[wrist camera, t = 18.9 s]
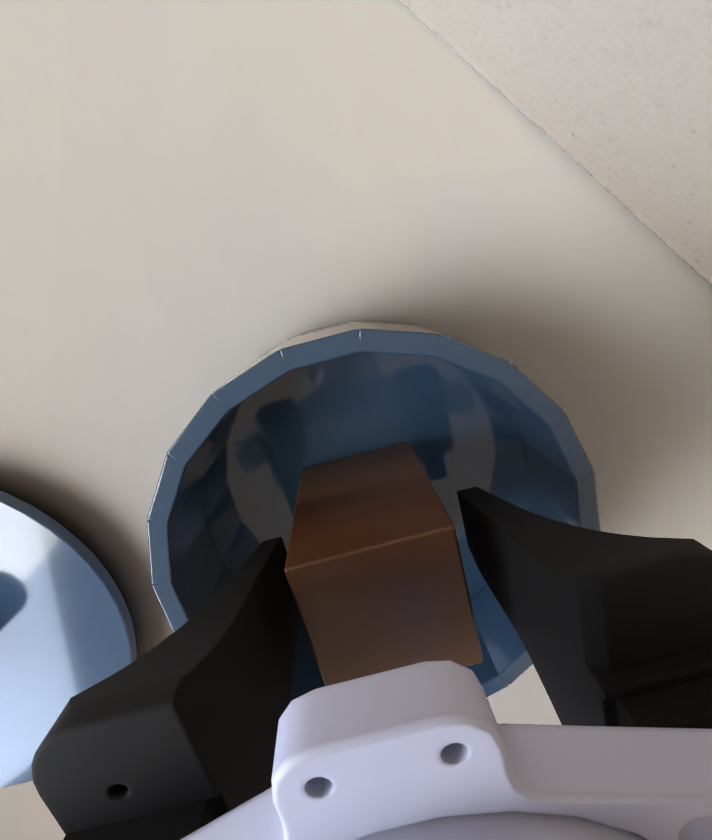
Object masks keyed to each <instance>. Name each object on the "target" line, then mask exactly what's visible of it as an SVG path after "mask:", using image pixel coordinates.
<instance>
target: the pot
mask: <svg viewBox="0 0 712 840" xmlns="http://www.w3.org/2000/svg"><path fill="white" fill-rule="evenodd" d="M403 442H409V443H410V445H411V447H412V449H413V450H414V452H415V454H416V456H417V458H418V460H419V462H420V463H421V465H422V467H423V469H424V471H425V473H426V474H427V476H428V478H429V480H430V482H431V484H432V486H433V487H434V489H435V491H436V493H437V495H438V497H439V498H440V500H441V502H442V504H443V506H444V508H445V510H446V511H447V513H448V515H449V517H450V519H451V521H452V523H453V524H454V526H455V530H456V534H457V539H458V544H459V548H460V553H461V558H462V562H463V567H464V572H465V576H466V581H467V586H468V590H469V595H470V600H471V604H472V609H473V614H474V618H475V623H476V628H477V632H478V637H479V642H480V646H481V651H482V656H483V662H482V663H478V664H474V665H470V666H466V668H468V669H470V670H472V671H473V672H474V674H475V676H476V677H477V679H478V680H479V682H480V684H481V685H482V687H483V689H484V691H485V694H486V696H487V697H488V696H490V695H492V694H494V693H496V692H498V691H500V690H501V689H503V688H505V687H507V686H508V684H511V683H512V682H513V681H515V680H516V679H517V678H518V677H519V676H520V675H521V674H522V673H523V672H524V671H525V670H527V669H528V668H529V667H530V666H531V665H532V664H533V662H532V660H531V658H530V656H529V654H528V652H527V650H526V648H525V646H524V644H523V642H522V640H521V639H520V637H519V635H518V633H517V631H516V630H515V628H514V626H513V625H512V623H511V622H510V620H509V618H508V617H507V615H506V614H505V612H504V610H503V609H502V607H501V606H500V604H499V602H498V601H497V599H496V598H495V596H494V594H493V593H492V591H491V590H490V588H489V586H488V585H487V583H486V581H485V580H484V578H483V577H482V575H481V573H480V571H479V569H478V567H477V565H476V563H475V561H474V558H473V556H472V554H471V551H470V549H469V547H468V543H467V538H466V533H465V529H464V524H463V519H462V514H461V509H460V504H459V500H458V495H457V491H460V490H464V489H468V488H471V487H475V486H476V487H478V488H480V489H482V490H484V491H486V492H488V493H490V494H493V495H495V496H497V497H499V498H501V499H503V500H505V501H507V502H509V503H511V504H514V505H516V506H518V507H520V508H523V509H525V510H528V511H530V512H533V513H535V514H538V515H541V516H543V517H546V518H549V519H552V520H556V521H559V522H563V523H566V524H570V525H573V526H578V527H582V528H586V529H592V530H597V531H600V522H599V512H598V503H597V493H596V483H595V474H594V471H593V467H592V465H591V463H590V461H589V459H588V457H587V455H586V453H585V451H584V449H583V447H582V445H581V443H580V441H579V439H578V437H577V435H576V433H575V431H574V429H573V427H572V425H571V423H570V421H569V419H568V417H567V415H566V413H565V412H564V411H563V409H562V408H561V407H560V406H559V405H558V404H556V403H555V402H554V401H553V400H552V399H551V398H550V397H549V396H548V395H547V394H545V393H544V392H543V391H542V390H541V389H540V388H539V387H538V386H537V385H536V384H535V383H533V382H532V381H531V380H530V379H529V378H528V377H527V376H526V375H525V374H524V373H522V372H521V371H520V370H519V369H518V368H517V367H516V366H515V365H514V364H512V363H510V362H509V361H507V360H504V359H502V358H500V357H497V356H495V355H492V354H490V353H488V352H485V351H483V350H480V349H478V348H475V347H473V346H471V345H468V344H466V343H463V342H461V341H458V340H456V339H454V338H451V337H449V336H446V335H444V334H441V333H438V332H435V331H432V330H429V329H425V328H422V327H419V326H415V325H406V324H391V323H378V322H358V321H354V322H353V323H352V322H347V323H344V324H340V325H336V326H332V327H327V328H322V329H319V330H316V331H313V332H310V333H306V334H302V335H298V336H295V337H292V338H289V339H288V340H286V341H285V342H283V343H282V344H280V345H279V346H277V347H276V348H274V349H273V350H271V351H270V352H268V353H267V354H265V355H264V356H262V357H261V358H259V359H258V360H256V361H255V362H253V363H252V364H250V365H248V366H247V367H245V368H244V369H242V370H241V371H240V372H238V373H237V374H236V375H235V376H233V377H232V378H231V379H229V380H228V381H227V382H226V383H224V384H223V385H222V386H221V387H219V388H218V389H217V390H216V391H214V392H213V393H212V394H211V395H210V396H209V398H208V399H207V400H206V402H205V403H204V404H203V406H202V407H201V408H200V410H199V411H198V412H197V413H196V415H195V416H194V417H193V419H192V420H191V421H190V423H189V424H188V425H187V427H186V428H185V429H184V431H183V432H182V433H181V435H180V436H179V437H178V439H177V440H176V441H175V443H174V444H173V445H172V446H171V448H170V449H169V450H168V452H167V455H166V457H165V460H164V464H163V467H162V470H161V474H160V477H159V480H158V484H157V487H156V490H155V494H154V497H153V500H152V504H151V507H150V510H149V514H148V521H147V528H148V541H149V554H150V567H151V579H152V587H153V589H154V591H155V593H156V595H157V597H158V599H159V602H160V604H161V606H162V608H163V610H164V612H165V614H166V617H167V619H168V621H169V623H170V625H171V627H172V630H173V632H175V631H176V630H178V629H179V628H180V627H181V626H183V625H184V624H185V623H186V622H187V621H188V620H190V619H191V618H192V617H193V616H194V615H195V614H196V613H197V612H199V611H200V610H201V609H202V608H203V607H204V606H205V605H206V604H207V603H208V602H209V601H210V600H211V599H212V598H213V597H214V596H215V595H216V594H217V593H218V592H219V590H220V589H221V588H222V587H223V586H224V585H225V584H226V583H227V582H228V581H229V580H230V579H231V578H232V576H233V575H234V574H235V573H236V572H237V571H238V569H239V568H240V567H241V566H242V565H243V564H244V562H245V561H246V560H247V559H248V558H249V557H250V555H251V554H252V553H253V552H254V551H255V549H256V548H257V547H258V546H259V545H260V544H261V543H262V542H263V541H266V540H270V539H274V538H278V537H282V539H283V542H284V545H285V548H286V551H287V552H288V546H289V540H290V534H291V529H292V523H293V517H294V511H295V506H296V500H297V494H298V488H299V482H300V477H301V471H302V469H304V468H308V467H311V466H315V465H319V464H323V463H327V462H331V461H334V460H338V459H342V458H346V457H350V456H354V455H357V454H361V453H365V452H369V451H373V450H377V449H380V448H384V447H388V446H392V445H396V444H400V443H403ZM321 687H325V684H324V681H323V678H322V676H321V673H320V670H319V667H318V664H317V662H316V659H315V656H314V653H313V650H312V647H311V645H310V642H309V639H308V636H307V633H306V631H305V628H304V625H303V622H302V619H301V617H300V623H299V632H298V640H297V647H296V654H295V662H294V669H293V677H292V684H291V694H290V702H291V701H292V700H294V699H296V698H298V697H300V696H302V695H304V694H306V693H308V692H310V691H312V690H314V689H317V688H321Z"/></svg>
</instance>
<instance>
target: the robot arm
mask: <svg viewBox="0 0 712 840" xmlns="http://www.w3.org/2000/svg"><path fill="white" fill-rule="evenodd" d="M457 495H458V500H459V504H460V509H461V514H462V519H463V524H464V529H465V533H466V538H467V543H468V547H469V549H470V551H471V554H472V556H473V558H474V561H475V563H476V565H477V567H478V569H479V571H480V573H481V575H482V577H483V578H484V580H485V581H486V583H487V585H488V586H489V588H490V590H491V591H492V593H493V594H494V596H495V598H496V599H497V601H498V602H499V604H500V606H501V607H502V609H503V610H504V612H505V614H506V615H507V617H508V618H509V620H510V622H511V623H512V625H513V626H514V628H515V630H516V631H517V633H518V635H519V637H520V639H521V640H522V642H523V644H524V646H525V648H526V650H527V652H528V654H529V656H530V658H531V660H532V662H533V664H534V666H535V668H536V671H537V673H538V675H539V677H540V679H541V681H542V683H543V685H544V687H545V689H546V692H547V694H548V696H549V698H550V700H551V702H552V704H553V706H554V708H555V711H556V713H557V715H558V717H559V719H560V721H561V724H562V725H533V724H497V722H496V719H495V717H494V714H493V712H492V709H491V707H490V704H489V702H488V699H487V696H486V694H485V691H484V689H483V687H482V685H481V684H480V682H479V680H478V679H477V677H476V676H475V674H474V672H473V671H472V670H470V669H468V668H466V667H463V666H461V665H459V664H457V663H455V662H453V661H424V662H420V663H416V664H412V665H408V666H404V667H400V668H396V669H392V670H388V671H384V672H380V673H376V674H372V675H368V676H364V677H360V678H356V679H352V680H349V681H345V682H341V683H337V684H333V685H329V686H325V687H321V688H317V689H314V690H312V691H310V692H308V693H306V694H304V695H302V696H300V697H298V698H296V699H294V700H292V701H291V702H290V694H291V684H292V677H293V669H294V662H295V654H296V647H297V640H298V632H299V623H300V614H299V611H298V608H297V605H296V603H295V600H294V597H293V594H292V591H291V588H290V586H289V583H288V580H287V577H286V574H285V572H284V569H285V563H286V557H287V551H286V548H285V545H284V542H283V539H282V537H278V538H274V539H270V540H266V541H263V542H262V543H261V544H260V545H259V546H258V547H257V548H256V549H255V551H254V552H253V553H252V554H251V555H250V557H249V558H248V559H247V560H246V561H245V562H244V564H243V565H242V566H241V567H240V568H239V569H238V571H237V572H236V573H235V574H234V575H233V576H232V578H231V579H230V580H229V581H228V582H227V583H226V584H225V585H224V586H223V587H222V588H221V589H220V590H219V592H218V593H217V594H216V595H215V596H214V597H213V598H212V599H211V600H210V601H209V602H208V603H207V604H206V605H205V606H204V607H203V608H202V609H201V610H200V611H199V612H197V613H196V614H195V615H194V616H193V617H192V618H191V619H190V620H188V621H187V622H186V623H185V624H184V625H183V626H181V627H180V628H179V629H178V630H176V631H175V632H174V633H172V634H171V635H170V636H168V637H167V638H166V639H165V640H163V641H162V642H161V643H159V644H158V645H157V646H155V647H154V648H153V649H151V650H150V651H148V652H147V653H145V654H144V655H143V656H141V657H140V658H138V659H137V660H135V661H134V662H132V663H130V664H129V665H127V666H126V667H124V668H123V669H121V670H119V671H118V672H116V673H114V674H113V675H111V676H109V677H108V678H106V679H104V680H102V681H100V682H99V683H97V684H95V685H93V686H91V687H90V688H88V689H86V690H84V691H83V692H81V693H79V694H77V695H75V696H73V697H71V698H70V700H69V701H68V703H67V704H66V706H65V707H64V709H63V711H62V712H61V714H60V715H59V717H58V718H57V720H56V721H55V723H54V724H53V726H52V727H51V729H50V731H49V732H48V734H47V735H46V737H45V738H44V740H43V741H42V743H41V744H40V746H39V747H38V749H37V750H36V752H35V755H34V758H33V761H32V764H31V769H32V779H33V782H34V784H35V787H36V789H37V791H38V793H39V795H40V796H41V798H42V799H43V801H44V802H45V804H46V806H47V807H48V809H49V810H50V812H51V813H52V815H53V816H54V818H55V819H56V821H57V822H58V824H59V825H60V827H61V828H62V830H63V831H64V833H65V834H66V836H65V838H64V840H712V551H711V550H710V549H708V548H707V547H705V546H704V545H702V544H701V543H699V542H697V541H696V540H694V539H678V538H651V537H640V536H630V535H621V534H614V533H608V532H602V531H597V530H592V529H586V528H582V527H578V526H573V525H570V524H566V523H563V522H559V521H556V520H552V519H549V518H546V517H543V516H541V515H538V514H535V513H533V512H530V511H528V510H525V509H523V508H520V507H518V506H516V505H514V504H511V503H509V502H507V501H505V500H503V499H501V498H499V497H497V496H495V495H493V494H490V493H488V492H486V491H484V490H482V489H480V488H478V487H476V486H475V487H471V488H468V489H464V490H460V491H457Z"/></svg>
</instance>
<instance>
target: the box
mask: <svg viewBox="0 0 712 840" xmlns="http://www.w3.org/2000/svg"><path fill="white" fill-rule="evenodd" d="M400 1H401V2H402V3H404V4H405V5H406V6H407V7H408V8H409V9H410V10H411V11H412V12H413V13H414V14H415V15H416V16H417V17H418V18H419V19H420V20H421V21H422V22H423V23H424V24H425V25H427V26H428V27H429V28H430V30H432V31H433V32H435V33H436V34H437V35H438V36H439V37H440V38H441V39H442V40H443V41H445V42H446V43H447V44H448V45H449V46H450V47H451V48H452V50H454V51H455V52H456V53H457V54H459V55H460V56H461V57H462V58H463V59H464V60H465V61H466V62H468V63H469V64H470V65H471V66H472V67H473V68H474V69H475V70H476V71H477V72H478V73H480V74H481V75H482V76H483V77H485V78H486V79H487V80H488V81H489V83H490V84H492V85H493V86H494V87H495V88H497V89H498V90H499V91H500V92H501V93H502V94H503V95H504V96H505V97H506V98H507V99H508V100H509V101H510V102H511V103H513V104H514V105H515V106H516V107H517V108H518V109H519V110H520V111H521V112H522V113H523V114H525V115H526V116H527V117H528V119H529V120H530V121H532V122H533V123H534V124H535V125H536V126H538V127H539V128H540V129H541V130H542V131H544V132H545V133H546V134H547V135H548V136H549V137H550V138H551V139H552V140H554V141H555V142H556V143H557V144H558V145H559V146H560V148H561V149H562V150H563V151H564V152H566V153H567V154H568V155H569V156H570V157H571V158H573V159H574V160H575V161H576V162H577V163H578V164H579V165H581V166H582V167H583V168H584V169H585V170H586V171H588V172H589V174H590V175H592V176H593V177H594V178H595V179H596V180H597V181H598V182H599V183H600V184H601V185H602V186H604V187H605V188H606V189H607V190H608V191H609V192H611V193H612V194H613V195H614V196H615V197H616V198H618V199H619V201H620V202H621V203H622V204H624V205H625V206H626V207H627V208H628V209H629V210H630V211H631V212H632V213H633V214H634V215H635V216H636V217H637V218H639V219H640V220H641V221H642V222H643V223H644V224H645V225H646V226H648V227H649V228H650V229H651V230H652V231H653V232H654V233H655V234H656V235H658V236H659V237H660V238H661V239H662V240H663V241H664V242H665V243H666V244H667V245H668V246H669V247H670V248H671V249H672V250H673V251H674V252H675V253H677V254H678V255H679V256H680V257H681V258H682V259H683V260H684V261H685V262H686V263H688V264H689V265H690V266H691V267H692V268H694V269H695V270H696V271H697V273H699V274H700V275H701V276H702V277H703V278H705V279H706V280H707V281H708V282H709V283H710V284H711V285H712V0H400Z"/></svg>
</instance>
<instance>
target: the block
mask: <svg viewBox="0 0 712 840" xmlns="http://www.w3.org/2000/svg"><path fill="white" fill-rule="evenodd" d="M284 572H285V574H286V577H287V580H288V583H289V586H290V588H291V591H292V594H293V597H294V600H295V603H296V605H297V608H298V611H299V614H300V617H301V619H302V622H303V625H304V628H305V631H306V633H307V636H308V639H309V642H310V645H311V647H312V650H313V653H314V656H315V659H316V662H317V664H318V667H319V670H320V673H321V676H322V678H323V681H324V684H325V686H329V685H333V684H337V683H341V682H345V681H349V680H352V679H356V678H360V677H364V676H368V675H372V674H376V673H380V672H384V671H388V670H392V669H396V668H400V667H404V666H408V665H412V664H416V663H420V662H424V661H453V662H455V663H457V664H459V665H461V666H463V667H466V666H470V665H474V664H478V663H482V662H483V656H482V651H481V646H480V642H479V637H478V632H477V628H476V623H475V618H474V614H473V609H472V604H471V600H470V595H469V590H468V586H467V581H466V576H465V572H464V567H463V562H462V558H461V553H460V548H459V544H458V539H457V534H456V530H455V526H454V524H453V523H452V521H451V519H450V517H449V515H448V513H447V511H446V510H445V508H444V506H443V504H442V502H441V500H440V498H439V497H438V495H437V493H436V491H435V489H434V487H433V486H432V484H431V482H430V480H429V478H428V476H427V474H426V473H425V471H424V469H423V467H422V465H421V463H420V462H419V460H418V458H417V456H416V454H415V452H414V450H413V449H412V447H411V445H410V443H409V442H403V443H400V444H396V445H392V446H388V447H384V448H380V449H377V450H373V451H369V452H365V453H361V454H357V455H354V456H350V457H346V458H342V459H338V460H334V461H331V462H327V463H323V464H319V465H315V466H311V467H308V468H304V469H302V471H301V477H300V482H299V488H298V494H297V500H296V506H295V511H294V517H293V523H292V529H291V534H290V540H289V546H288V552H287V557H286V563H285V569H284Z"/></svg>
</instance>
